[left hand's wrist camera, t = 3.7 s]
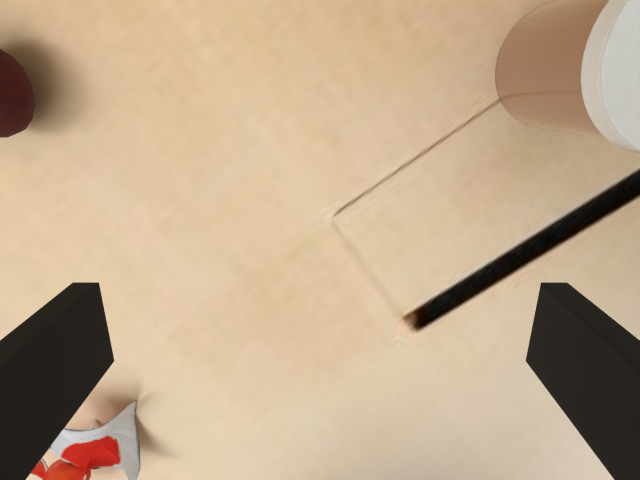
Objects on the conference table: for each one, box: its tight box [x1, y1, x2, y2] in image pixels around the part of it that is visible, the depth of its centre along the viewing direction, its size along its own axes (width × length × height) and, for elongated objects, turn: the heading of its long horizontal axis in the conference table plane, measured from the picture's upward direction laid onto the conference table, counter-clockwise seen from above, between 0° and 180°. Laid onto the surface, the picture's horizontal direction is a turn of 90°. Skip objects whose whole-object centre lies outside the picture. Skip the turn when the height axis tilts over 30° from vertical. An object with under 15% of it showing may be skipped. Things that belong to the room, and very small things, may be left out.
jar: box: [495, 0, 610, 141], centre depth 29 cm, size 10×10×15 cm
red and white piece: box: [31, 400, 140, 480], centre depth 46 cm, size 11×16×10 cm
